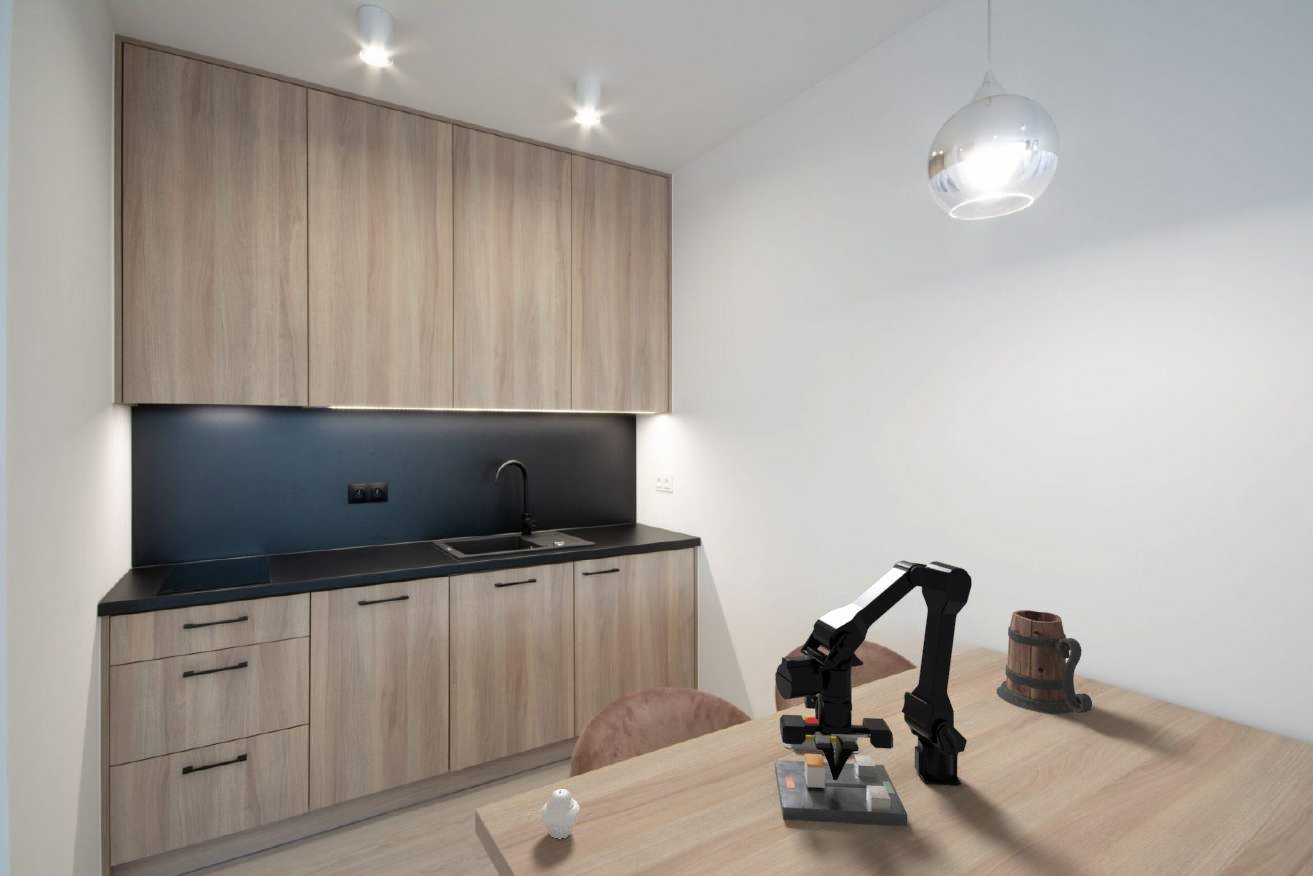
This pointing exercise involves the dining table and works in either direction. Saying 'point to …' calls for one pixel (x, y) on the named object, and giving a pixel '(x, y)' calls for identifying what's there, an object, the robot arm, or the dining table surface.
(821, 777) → the block
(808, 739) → the emergency button
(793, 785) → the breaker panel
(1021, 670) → the tankard
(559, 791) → the white rounded lump
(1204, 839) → the dining table surface
